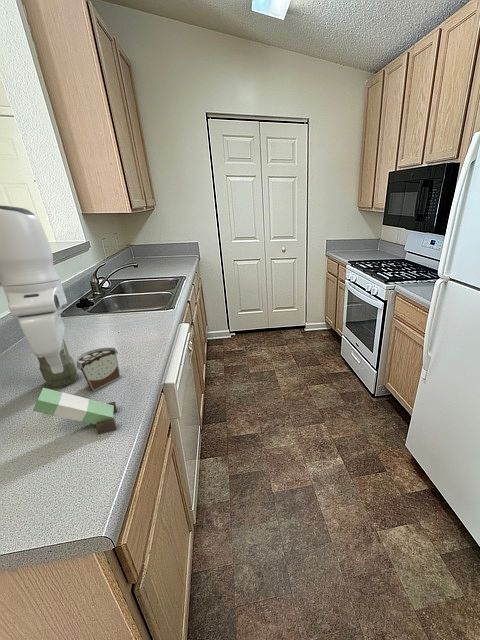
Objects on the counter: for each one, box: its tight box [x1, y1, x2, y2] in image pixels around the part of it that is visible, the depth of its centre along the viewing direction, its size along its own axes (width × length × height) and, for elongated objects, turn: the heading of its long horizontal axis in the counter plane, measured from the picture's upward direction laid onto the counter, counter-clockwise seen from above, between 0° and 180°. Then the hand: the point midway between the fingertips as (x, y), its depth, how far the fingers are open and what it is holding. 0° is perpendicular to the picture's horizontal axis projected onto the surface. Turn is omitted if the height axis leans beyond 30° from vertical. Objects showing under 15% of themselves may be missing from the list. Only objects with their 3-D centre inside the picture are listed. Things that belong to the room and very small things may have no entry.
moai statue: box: [36, 338, 80, 389], centre depth 98 cm, size 9×12×35 cm
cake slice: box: [75, 347, 121, 392], centre depth 103 cm, size 12×6×10 cm, turn 154°
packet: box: [32, 387, 114, 425], centre depth 82 cm, size 16×6×3 cm
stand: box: [95, 401, 118, 435], centre depth 86 cm, size 4×10×2 cm, turn 25°
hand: (60, 364), depth 68 cm, fingers open, 8 cm apart
